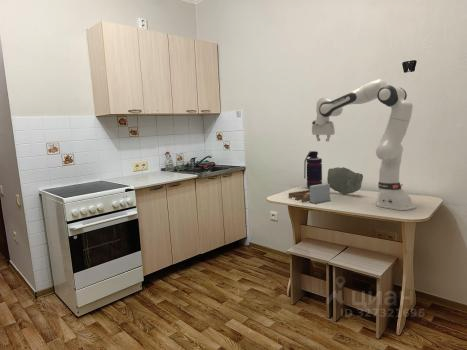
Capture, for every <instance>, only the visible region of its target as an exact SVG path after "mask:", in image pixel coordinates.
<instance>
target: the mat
mask: <svg viewBox="0 0 467 350" xmlns="http://www.w3.org/2000/svg"><path fill="white" fill-rule="evenodd" d="M308 202H309V203H311V202H310V201H308ZM329 202H331V199H330V200H328V201H322V202H317V203H313V204H314V205H315V204H316V205H317V204H323V203H329Z"/></svg>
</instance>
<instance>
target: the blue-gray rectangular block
mask: <svg viewBox="0 0 467 350" xmlns="http://www.w3.org/2000/svg"><path fill="white" fill-rule="evenodd" d="M309 190H310V202H309V203H311V204H314V203H317V202H322V201H328V200H330V201H331V188H330V184H328V182H327V183H322V184H319V185H312V186H310V189H309Z"/></svg>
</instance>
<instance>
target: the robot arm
mask: <svg viewBox="0 0 467 350" xmlns="http://www.w3.org/2000/svg"><path fill="white" fill-rule="evenodd" d="M407 96H408V95H407V92H406V90H405V89H404V88H403V87H399V86H397V85H392V84H391V85H389V84H387V82H386V81H385V80H384V79H382V78H378V79H374V80H372V81H369V82H367V83H365V84H363V85H362V86H359V87H358V88H355V89H354V90H352V91H351V92H349V93H347V94H344V95H342V96H340V97H338V98H336V99H333V100H331V99H330V98H328V97H322V98H319V99H318V100H317V102H316V119H315V120H313V121H312V122H311V134H312V135H313V136H315V138H316V141H317V142H321V138H320V136H321V135H322V136H323V135H324V136H326V138H325V142H330V137H331V135H332V136H333V135H335V133H336V132H335V125H334V122H333V121H331V120H330V117H337V116H340V115H341V114H342V112H343V110H344V109H343V107H345V106H348V105H361V104H362V105H363V104H366V103H369V102H371V101H374V100H376V99H377V100H378V101H379V102H380V103H381V104H384V105H385V106H387V107H389V108H391V112H390V115H389V118H388V120H387V121H388V122H387V124H386V128H385V129H384V130H385V131H384V133H383V135H382V136H381V138H380V141H379V143H378V146H377V147H376V149H375V155H376V157H377V158H378V159H379V160H381V164H380V166H379V172H378V173H379V177H378V180H379V181H378V186H377V187H378V192H377V194H378V195H377V198H376V203H375V205H376V207H379V208H384V209H390V210H396V211H410V210H413V209H416V208H417V206H416V204H412V198H411V196H410V195H409V194H408V193H407V192H405V190H404V189H402V187H403V185H404V184H401V182H400V168H401V163H402V157H403V151H404V148H403V144H401V143H402V142H403V140H404V138H405V135H406V133H407V130H408V128H409V125H410V121H411V119H412V113H413V103H412V102H411V101H409V100H407Z"/></svg>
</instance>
